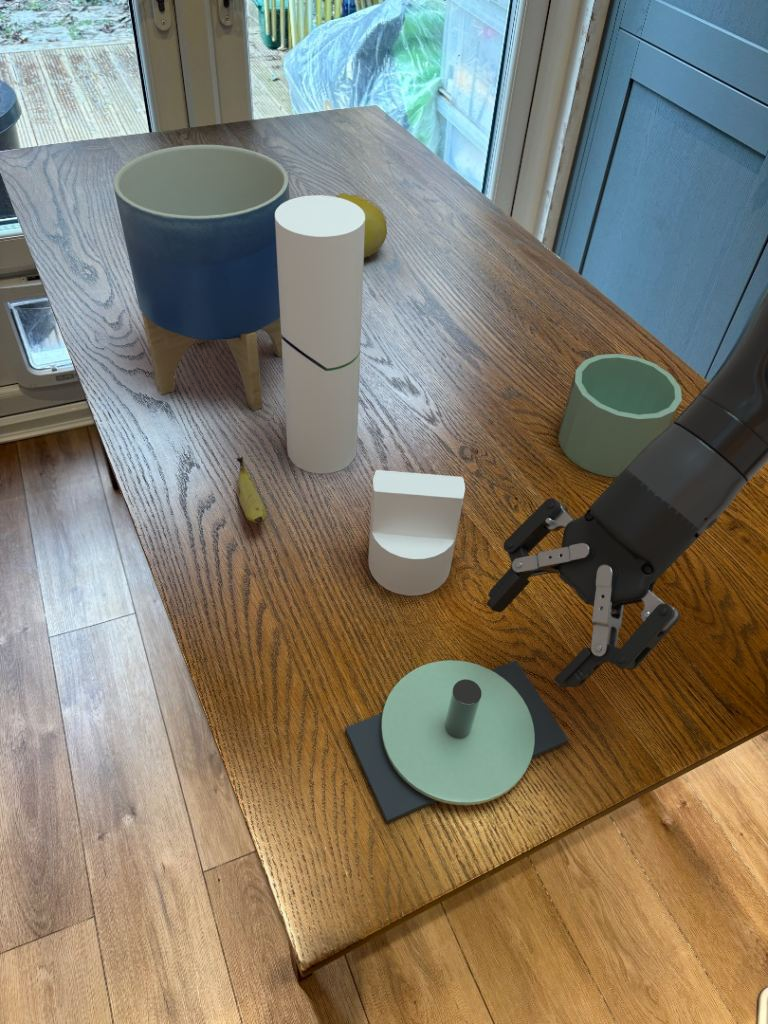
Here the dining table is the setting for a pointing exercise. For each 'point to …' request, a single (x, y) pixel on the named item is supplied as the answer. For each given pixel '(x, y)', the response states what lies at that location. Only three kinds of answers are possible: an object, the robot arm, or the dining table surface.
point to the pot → (616, 411)
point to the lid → (457, 732)
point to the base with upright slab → (413, 529)
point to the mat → (402, 797)
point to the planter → (204, 252)
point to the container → (320, 327)
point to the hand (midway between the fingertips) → (525, 645)
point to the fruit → (370, 222)
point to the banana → (250, 496)
